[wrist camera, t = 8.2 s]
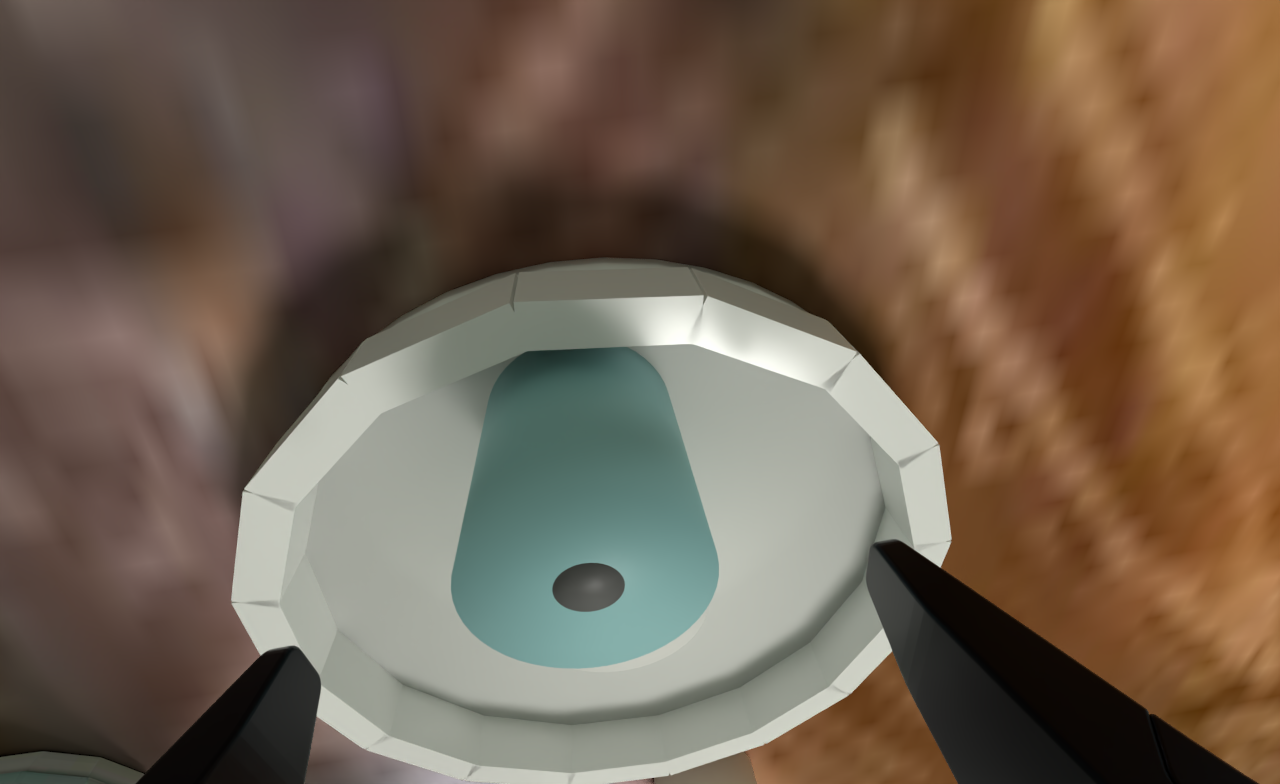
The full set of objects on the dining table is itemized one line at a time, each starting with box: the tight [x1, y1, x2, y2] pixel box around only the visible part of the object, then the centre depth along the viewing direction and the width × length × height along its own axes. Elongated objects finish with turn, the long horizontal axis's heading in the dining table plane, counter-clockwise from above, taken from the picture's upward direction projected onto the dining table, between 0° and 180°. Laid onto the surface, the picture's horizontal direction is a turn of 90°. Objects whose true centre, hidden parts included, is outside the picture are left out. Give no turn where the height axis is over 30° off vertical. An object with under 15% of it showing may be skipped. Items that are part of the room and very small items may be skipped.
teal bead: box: [451, 347, 719, 669], centre depth 11 cm, size 4×4×5 cm
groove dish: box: [231, 257, 952, 784], centre depth 16 cm, size 18×18×2 cm
